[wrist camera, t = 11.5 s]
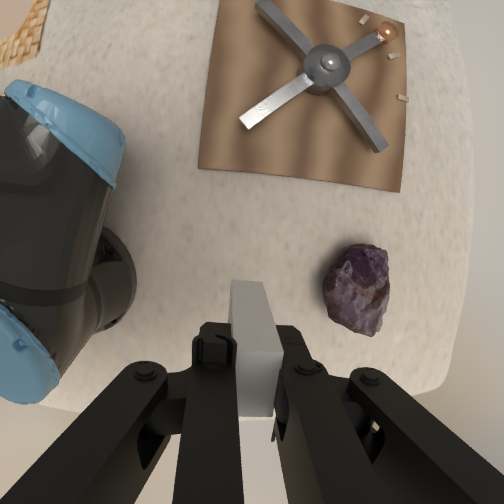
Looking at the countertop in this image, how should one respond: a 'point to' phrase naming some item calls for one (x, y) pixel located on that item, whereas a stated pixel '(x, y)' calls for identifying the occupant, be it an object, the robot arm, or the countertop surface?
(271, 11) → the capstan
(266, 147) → the board
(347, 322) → the rock
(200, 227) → the countertop surface
